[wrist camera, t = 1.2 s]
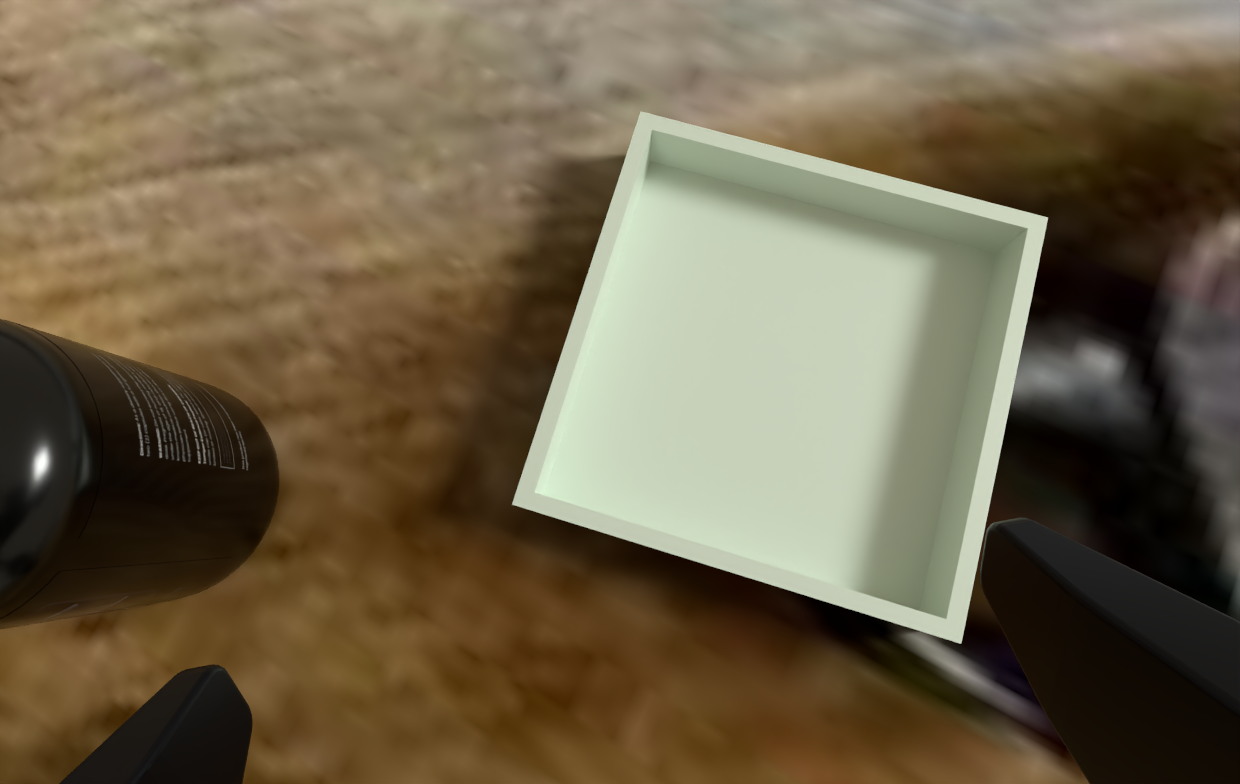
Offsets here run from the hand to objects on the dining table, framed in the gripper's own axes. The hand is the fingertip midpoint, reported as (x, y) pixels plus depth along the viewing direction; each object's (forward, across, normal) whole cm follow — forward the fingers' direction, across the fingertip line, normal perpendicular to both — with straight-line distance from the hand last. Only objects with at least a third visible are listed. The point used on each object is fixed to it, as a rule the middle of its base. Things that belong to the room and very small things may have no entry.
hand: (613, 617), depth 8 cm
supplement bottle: (+14, +14, +6) cm, 20 cm away
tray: (+14, -6, +5) cm, 16 cm away
